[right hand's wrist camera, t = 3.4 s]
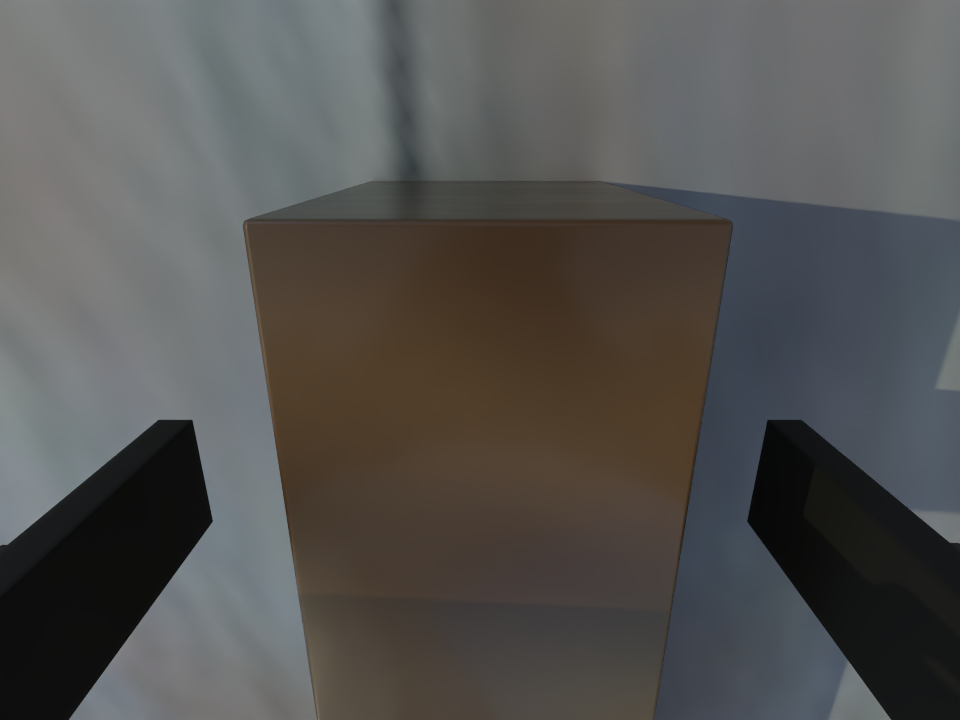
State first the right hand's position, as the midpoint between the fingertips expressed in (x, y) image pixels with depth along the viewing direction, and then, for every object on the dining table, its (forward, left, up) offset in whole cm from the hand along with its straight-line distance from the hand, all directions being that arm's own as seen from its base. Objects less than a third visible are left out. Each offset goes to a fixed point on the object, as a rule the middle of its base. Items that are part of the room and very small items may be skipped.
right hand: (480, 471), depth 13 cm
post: (+13, +24, -3) cm, 27 cm away
